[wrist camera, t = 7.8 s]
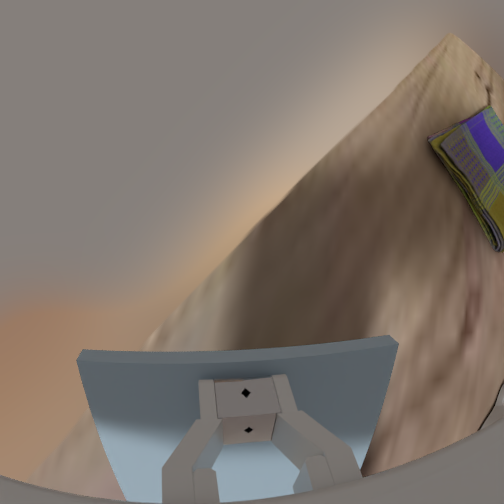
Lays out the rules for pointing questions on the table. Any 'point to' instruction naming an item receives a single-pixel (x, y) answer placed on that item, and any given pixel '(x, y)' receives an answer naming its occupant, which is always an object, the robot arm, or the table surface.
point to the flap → (229, 367)
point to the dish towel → (477, 168)
